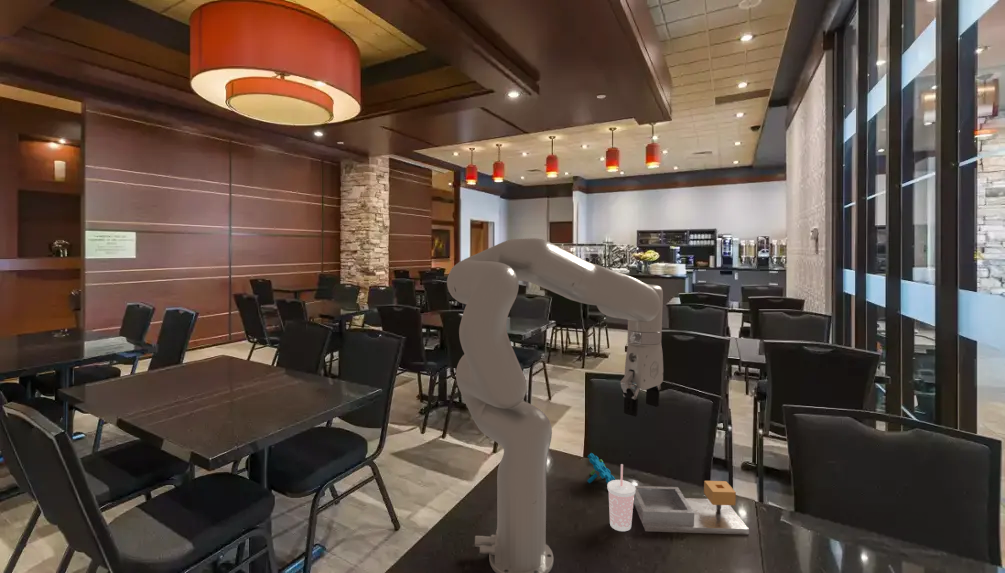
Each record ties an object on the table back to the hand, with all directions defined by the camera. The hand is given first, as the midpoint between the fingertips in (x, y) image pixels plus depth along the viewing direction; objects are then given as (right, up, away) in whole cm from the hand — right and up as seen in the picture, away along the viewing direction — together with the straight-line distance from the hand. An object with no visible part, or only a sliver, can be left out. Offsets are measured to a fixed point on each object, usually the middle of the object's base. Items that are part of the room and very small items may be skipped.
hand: (641, 409), depth 109 cm
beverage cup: (-6, -25, -5) cm, 26 cm away
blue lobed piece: (-7, -23, +14) cm, 28 cm away
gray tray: (+10, -24, -2) cm, 26 cm away
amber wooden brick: (+17, -20, -3) cm, 26 cm away
